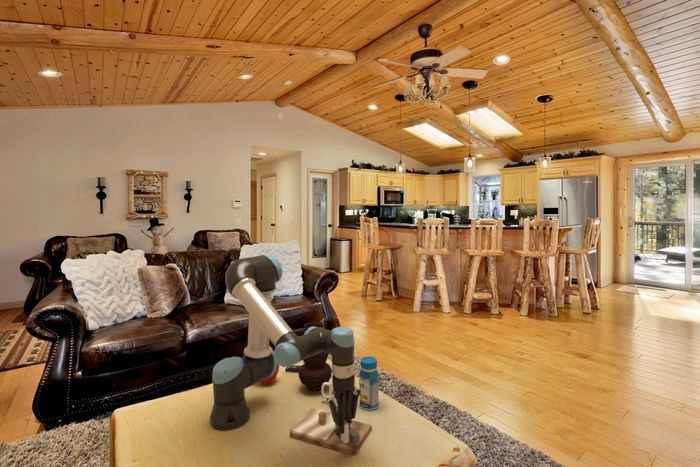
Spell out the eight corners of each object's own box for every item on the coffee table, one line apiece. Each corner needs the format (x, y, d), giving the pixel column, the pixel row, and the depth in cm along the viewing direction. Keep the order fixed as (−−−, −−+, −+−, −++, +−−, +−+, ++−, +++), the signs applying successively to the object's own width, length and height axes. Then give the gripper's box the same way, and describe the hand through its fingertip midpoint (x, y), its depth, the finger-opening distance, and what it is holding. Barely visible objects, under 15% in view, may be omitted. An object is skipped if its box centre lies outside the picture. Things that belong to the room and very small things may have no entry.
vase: (296, 383, 180) (294, 321, 177) (327, 378, 184) (326, 317, 182) (301, 399, 165) (299, 332, 162) (336, 393, 170) (334, 328, 167)
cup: (346, 409, 157) (346, 386, 156) (318, 407, 159) (318, 383, 158) (350, 399, 165) (350, 376, 164) (324, 396, 167) (323, 374, 166)
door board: (289, 436, 140) (289, 419, 139) (311, 413, 154) (311, 398, 153) (354, 455, 129) (354, 437, 128) (371, 429, 143) (371, 412, 143)
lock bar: (333, 431, 139) (333, 418, 139) (340, 428, 141) (340, 415, 140) (352, 449, 129) (352, 435, 129) (360, 445, 131) (360, 431, 131)
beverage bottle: (380, 410, 156) (379, 363, 154) (359, 411, 155) (358, 364, 154) (378, 399, 164) (378, 355, 162) (358, 400, 164) (358, 355, 162)
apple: (272, 374, 190) (271, 348, 188) (284, 382, 181) (283, 355, 179) (250, 381, 182) (249, 354, 181) (261, 391, 173) (260, 362, 172)
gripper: (333, 384, 121) (334, 454, 123) (365, 372, 129) (366, 438, 131) (321, 375, 127) (322, 442, 129) (352, 365, 135) (353, 428, 137)
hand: (344, 440), depth 130 cm, fingers closed
